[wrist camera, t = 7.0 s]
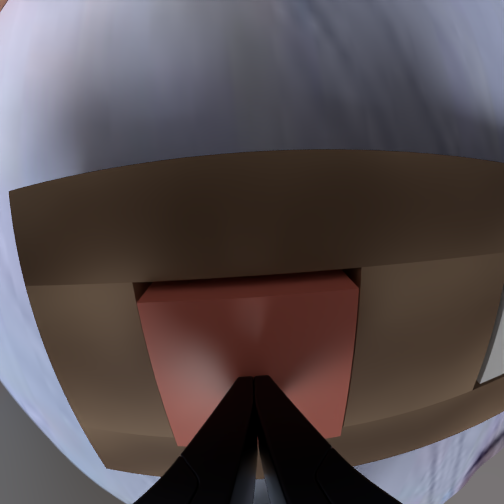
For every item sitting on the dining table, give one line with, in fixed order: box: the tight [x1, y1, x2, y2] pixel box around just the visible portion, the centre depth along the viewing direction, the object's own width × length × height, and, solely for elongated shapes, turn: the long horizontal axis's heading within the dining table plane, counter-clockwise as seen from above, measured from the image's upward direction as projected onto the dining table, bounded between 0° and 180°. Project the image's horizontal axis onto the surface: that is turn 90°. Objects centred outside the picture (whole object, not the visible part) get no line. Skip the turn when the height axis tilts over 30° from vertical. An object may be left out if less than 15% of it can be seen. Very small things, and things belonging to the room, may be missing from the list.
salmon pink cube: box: [137, 269, 359, 447], centre depth 9 cm, size 5×5×4 cm
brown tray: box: [9, 149, 504, 479], centre depth 11 cm, size 12×26×5 cm, turn 94°
